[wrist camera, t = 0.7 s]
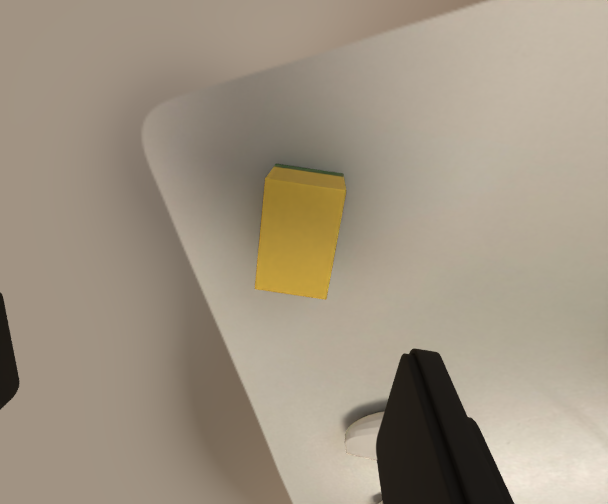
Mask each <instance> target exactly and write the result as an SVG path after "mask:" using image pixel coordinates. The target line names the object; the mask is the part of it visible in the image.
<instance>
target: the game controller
mask: <svg viewBox="0 0 608 504" xmlns="http://www.w3.org/2000/svg"><path fill="white" fill-rule="evenodd" d="M384 412H385V411H384ZM384 412H379V413H374V414H371V415H368V416H365V417H363V418H361V419H359V420H357V421H356V422H354V423H353V424H352V425H351V426H350V427H349V428H348V429H347V431H346V433H345V447H346V453H347V454H350V455H354V456H359V457H363V458H368V459H373V460H377V457H376V440H377V435H378V432H379V428H380V425H381V422H382V418H383V415H384ZM379 504H383V501H382V502H380V503H379Z"/></svg>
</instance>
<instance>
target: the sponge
mask: <svg viewBox="0 0 608 504" xmlns="http://www.w3.org/2000/svg"><path fill="white" fill-rule="evenodd" d="M345 196H346V186H345V181H344V175H343V174H342V173H335V172H328V171H322V170H315V169H308V168H302V167H295V166H288V165H281V164H275V166H274V167H273V169H272V170H271V171H270V173H269V174H268V175H267V177H266V178H265V185H264V196H263V206H262V217H261V228H260V238H259V249H258V259H257V270H256V281H255V289H258V290H265V291H272V292H278V293H285V294H292V295H298V296H305V297H312V298H319V299H326V298H327V293H328V288H329V282H330V277H331V271H332V266H333V261H334V255H335V250H336V244H337V239H338V234H339V228H340V223H341V217H342V212H343V207H344V201H345Z"/></svg>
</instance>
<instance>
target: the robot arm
mask: <svg viewBox="0 0 608 504" xmlns="http://www.w3.org/2000/svg"><path fill="white" fill-rule="evenodd" d="M18 388H19V377H18V372H17V366H16V361H15V356H14V351H13V346H12V341H11V336H10V330H9V326H8V320H7V315H6V310H5V305H4V300H3V296H2V294H1V293H0V409H1V408H2V407H3V406H4V405H6V403H8V402H9V401H10V400H11V399H12V398H13V397H14V395H15V394H16V392H17V390H18ZM376 457H377V464H378V471H379V478H380V486H381V493H382V500H383V504H514V502H513V500H512V498H511V496H510V494H509V491H508V489H507V487H506V485H505V483H504V481H503V478H502V476H501V474H500V472H499V470H498V468H497V465H496V463H495V461H494V459H493V457H492V455H491V452H490V450H489V448H488V446H487V444H486V442H485V439H484V437H483V435H482V433H481V431H480V429H479V427H478V425H477V423H476V422H475V421H474V420H473V419H472V418H469V417H467V415H466V412H465V410H464V408H463V406H462V403H461V401H460V399H459V397H458V394H457V392H456V390H455V388H454V385H453V383H452V381H451V378H450V376H449V374H448V372H447V369H446V367H445V365H444V363H443V360H442V358H441V356H440V354H439V353H437V352H433V351H427V350H420V349H412V350H411V351H410V353H409V354H403V355H402V356H401V359H400V362H399V366H398V369H397V372H396V375H395V379H394V382H393V385H392V389H391V392H390V395H389V399H388V402H387V405H386V409H385V412H384V415H383V418H382V422H381V425H380V428H379V432H378V435H377V440H376Z"/></svg>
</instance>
